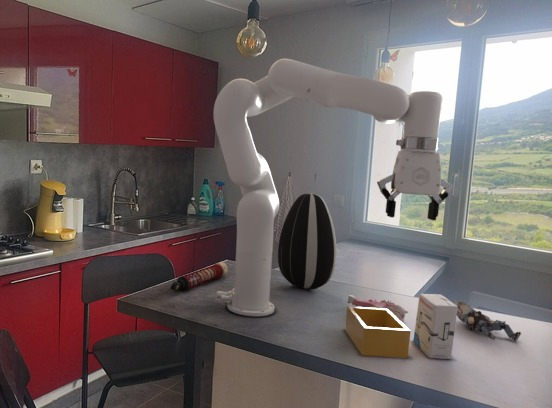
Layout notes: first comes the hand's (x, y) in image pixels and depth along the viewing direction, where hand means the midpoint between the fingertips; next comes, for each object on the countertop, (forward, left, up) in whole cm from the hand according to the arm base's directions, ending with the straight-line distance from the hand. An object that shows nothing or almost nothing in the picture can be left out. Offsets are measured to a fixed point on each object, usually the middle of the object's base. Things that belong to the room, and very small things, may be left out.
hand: (410, 218), depth 108 cm
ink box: (+3, -11, -28) cm, 30 cm away
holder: (-9, -9, -28) cm, 31 cm away
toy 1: (-3, +9, -28) cm, 30 cm away
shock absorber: (-50, +30, -28) cm, 65 cm away
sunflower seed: (-18, +32, -28) cm, 46 cm away
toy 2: (+21, +3, -28) cm, 35 cm away
